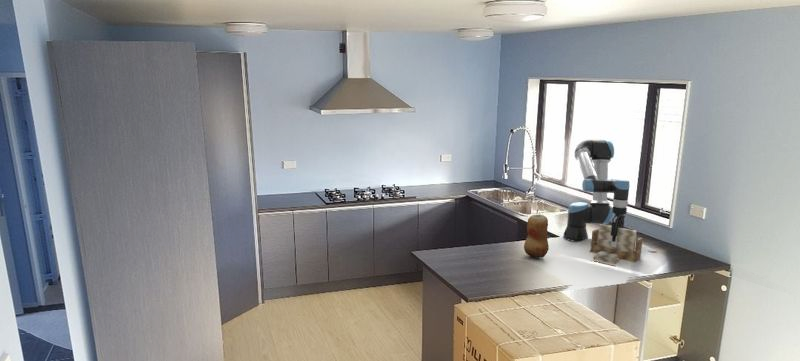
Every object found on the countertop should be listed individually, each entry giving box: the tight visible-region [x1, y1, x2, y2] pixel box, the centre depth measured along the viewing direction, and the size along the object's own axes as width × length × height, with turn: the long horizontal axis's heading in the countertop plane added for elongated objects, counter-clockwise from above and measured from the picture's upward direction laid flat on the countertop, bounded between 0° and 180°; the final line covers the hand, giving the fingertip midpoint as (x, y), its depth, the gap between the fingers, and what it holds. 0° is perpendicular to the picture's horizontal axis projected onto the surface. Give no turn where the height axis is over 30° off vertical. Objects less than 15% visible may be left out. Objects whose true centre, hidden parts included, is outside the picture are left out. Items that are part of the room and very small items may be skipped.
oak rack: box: [588, 228, 643, 263], centre depth 293 cm, size 26×12×14 cm, turn 48°
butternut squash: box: [523, 213, 550, 260], centre depth 287 cm, size 14×13×25 cm
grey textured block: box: [592, 254, 621, 267], centre depth 284 cm, size 12×7×3 cm, turn 48°
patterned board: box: [597, 224, 637, 254], centre depth 293 cm, size 20×2×16 cm, turn 48°
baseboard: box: [635, 241, 658, 253], centre depth 319 cm, size 31×3×12 cm
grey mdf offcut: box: [596, 251, 618, 261], centre depth 283 cm, size 9×6×2 cm, turn 51°
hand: (615, 245), depth 293 cm, fingers open, 6 cm apart
